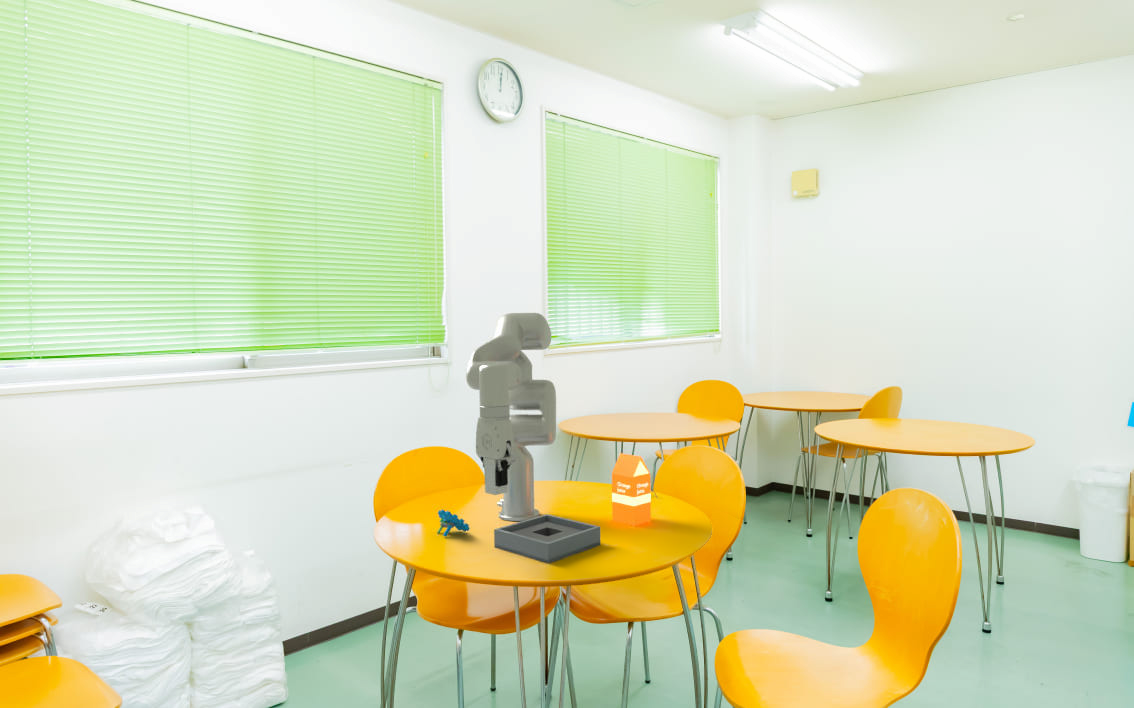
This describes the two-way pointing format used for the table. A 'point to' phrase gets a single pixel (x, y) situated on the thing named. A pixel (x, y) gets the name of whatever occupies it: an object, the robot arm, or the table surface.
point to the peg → (492, 477)
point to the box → (547, 538)
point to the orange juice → (631, 491)
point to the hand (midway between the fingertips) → (496, 483)
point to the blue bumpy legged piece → (451, 522)
